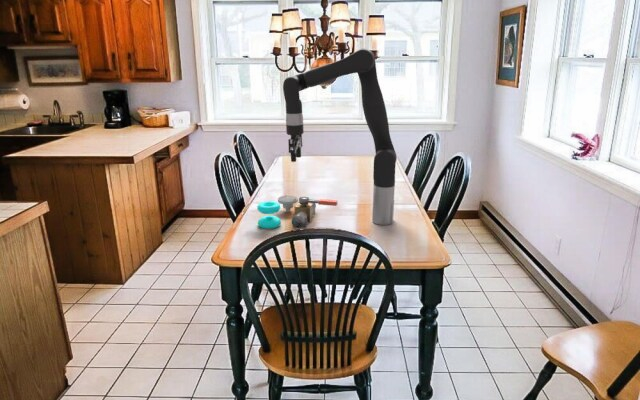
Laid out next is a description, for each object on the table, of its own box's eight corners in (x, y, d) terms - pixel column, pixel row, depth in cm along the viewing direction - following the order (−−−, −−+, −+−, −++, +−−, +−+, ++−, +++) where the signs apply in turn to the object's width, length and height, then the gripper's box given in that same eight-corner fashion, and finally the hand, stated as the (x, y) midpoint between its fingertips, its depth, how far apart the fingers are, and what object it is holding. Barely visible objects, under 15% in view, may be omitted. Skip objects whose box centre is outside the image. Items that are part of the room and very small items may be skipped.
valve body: (317, 211, 223) (317, 196, 220) (305, 228, 203) (305, 212, 200) (302, 210, 224) (302, 195, 222) (290, 227, 204) (289, 211, 202)
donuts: (278, 199, 209) (281, 206, 200) (279, 220, 212) (282, 228, 203) (255, 201, 207) (258, 208, 198) (256, 222, 210) (259, 230, 201)
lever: (298, 204, 209) (298, 199, 209) (300, 201, 213) (300, 196, 213) (336, 206, 206) (336, 202, 205) (337, 203, 210) (337, 199, 209)
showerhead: (289, 201, 215) (273, 197, 221) (289, 216, 217) (274, 211, 223) (302, 196, 222) (287, 192, 228) (302, 210, 224) (287, 206, 230)
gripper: (298, 126, 198) (300, 163, 203) (306, 120, 211) (308, 156, 216) (281, 125, 200) (283, 163, 205) (290, 120, 213) (292, 155, 218)
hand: (296, 159), depth 210 cm, fingers open, 8 cm apart
